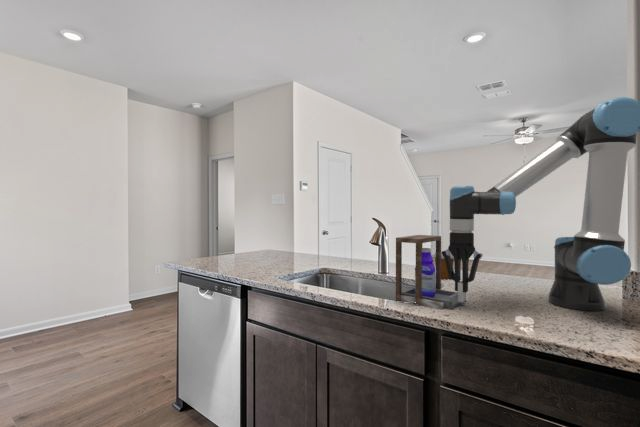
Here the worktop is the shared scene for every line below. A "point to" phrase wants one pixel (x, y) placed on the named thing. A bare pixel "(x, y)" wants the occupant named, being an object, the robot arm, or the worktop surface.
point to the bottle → (427, 274)
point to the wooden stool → (418, 269)
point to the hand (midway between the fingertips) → (461, 301)
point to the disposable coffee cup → (444, 266)
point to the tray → (439, 297)
